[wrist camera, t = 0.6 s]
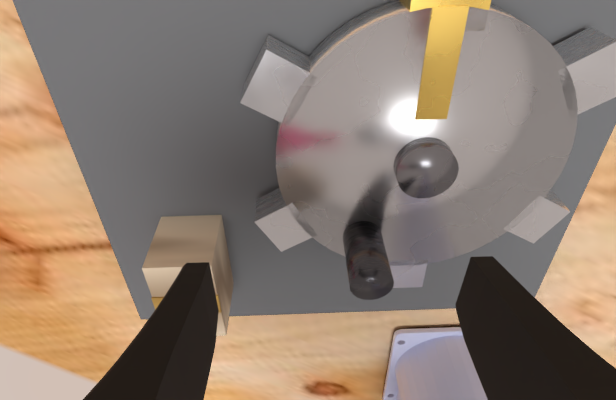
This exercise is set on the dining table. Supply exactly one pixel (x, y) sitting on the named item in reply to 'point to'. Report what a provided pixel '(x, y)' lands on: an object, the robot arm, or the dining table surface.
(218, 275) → the banded wooden block
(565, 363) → the robot arm
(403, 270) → the sprocket
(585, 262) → the dining table surface
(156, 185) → the mat
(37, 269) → the dining table surface
